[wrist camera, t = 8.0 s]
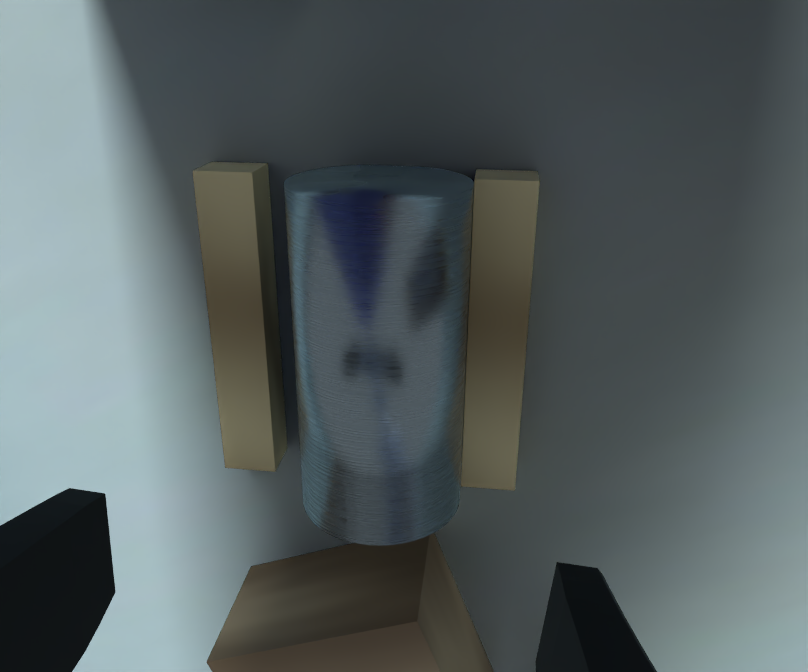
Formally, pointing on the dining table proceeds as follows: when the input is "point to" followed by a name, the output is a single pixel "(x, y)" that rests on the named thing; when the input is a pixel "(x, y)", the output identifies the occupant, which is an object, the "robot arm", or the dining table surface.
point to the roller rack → (259, 323)
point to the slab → (351, 614)
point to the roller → (379, 345)
